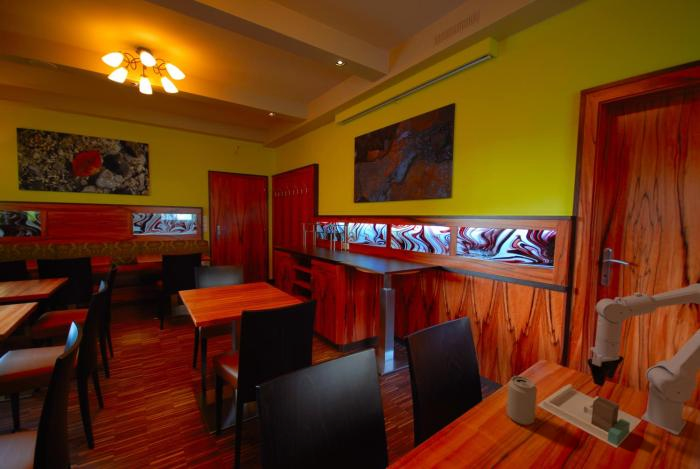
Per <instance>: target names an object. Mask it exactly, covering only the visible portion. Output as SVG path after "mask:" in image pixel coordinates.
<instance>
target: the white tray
mask: <svg viewBox="0 0 700 469" xmlns="http://www.w3.org/2000/svg"><path fill="white" fill-rule="evenodd" d="M598 397H599V396H598V395H596V396H595V397H591V396H590V395H587V394H585V393H583V392H580V391H578V390H576V389H574V388H573V385H572V384H570V383H568V384H567V385H563V387H561V388H560V389H558V390H556V391H555V392H554V393H552V394H551V395H549V396H548V397H545V399H543V400H541V401H540V402H538V403H537V404H536V406H537V407H540V408H541V409H543V410H545V411H547V412H548V413H550V414H552V415H554V416H556V417H558V418H560V419H561V420H563V421H565V422H567V423H569V424H571V425H572V426H574V427H576V428H579V429H581V430H582V431H583V432H586V433H588V434H589V435H592V436H593V437H595V438H596V439H599V440H601V441H603V442H605V443H606V444H608V445H610V446H611V447H614V448H616V449H617V448H618V447H620V445H621V444H622V443H623V442H624V440H625V439H626V438H627V437H628V436H629V435H630V434H631V433H632V432H633V430H635V428H637V426H638V425H639V423H641V422H642V419H640V418H637V417H636V416H634V415H631V414H629V413H627V412H625V411H623V410H620V409H619V410H618V419H617V423H616V424H615V425H614V426H613V427H612V428H611V429H610V430H609V432H606V431H604V430H602V429H600V428H598V427H596V426H595V425H593V424H591V421H592V411H593V401H594V400H596V399H597V398H598Z"/></svg>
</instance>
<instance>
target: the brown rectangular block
mask: <svg viewBox="0 0 700 469" xmlns="http://www.w3.org/2000/svg"><path fill="white" fill-rule="evenodd" d="M618 410H620V404H619V403H617V402H614V401H612V400H610V399H607V398H606V397H603V396H602V395H600V396H598V398H597V399H596V400H594V401H593V411H592V421H591V424H593V425H595V426H596V427H598V428H600V429H602V430H604V431H606V432H609V430H610V429H611V428H612V427H613V426H614V425H615V424H616V423H617V419H618Z"/></svg>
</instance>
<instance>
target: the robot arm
mask: <svg viewBox="0 0 700 469" xmlns="http://www.w3.org/2000/svg"><path fill="white" fill-rule="evenodd" d="M691 303H693V304H697V305H700V283H697V282H696V283H692V284H689V285H688V286H685V287H681V288H678V289H673V290H669V291H665V292H661V293H658V294H653V295H649V294H646V293H644V292H642V293H641V292H637V291H636V292H633V295H627V296H623V297H619V296H616V297H615V298H614V299H611V298H602V299H600V300H599V301H598V302H597V303H596V305H594V310H595V312H596V313H597V314H598V315H597V322H596V332H595V342H594V344H595V345H594V346H591V347H589V348H590V349H589V351H591V352H593V357H592V358H588V359H587V365H588V367H589V369H590V371H591V376H592V381H593V383H594V384H595V385H597V386H599V387H603V386H604V384H605V383H606V378H609V379H611V380H612V379H614V377H615V375H616V372H617V369H618V368H619V366H620V364H621V363H622V362H623V361H624V359H625V357H624V356H623V355H622V356H621V355H620V347H621V338H622V337H621V336H622V327H623V322H626V320H627V319H629V318H633V317H637V316H643V315H647V314H653V313H655V312H656V310H657V309H658V308H661V307H669V306H676V305H685V304H691ZM699 371H700V328H699V329H698V330H697V331H696V332H695V333H694V334H693V335H692V336H691V337H690V339H688V341H686V343H685V344H684V345H683V346H682V347H681V348H680V349H679V350H678V352H676V353H675V355H673V357H672V358H670V359H668V360H660V361H659V362H658V363H657V364H655V365H653V366H650V367H649V368H648V369H647V370H646V372H645V378H646V380H647V381H648V382H649V389H648V390H649V391H648V399H647V406H646V412H645V413H643V415H642V416H641V417H640V418H641V420H644V421H646V422H648V423H651V424H653V425H655V426H658V427H660V428H662V429H664V430H666V431H667V432H668V433H670V434H673V435H674V436H679V435H680V433H681V432H682V431H683V429H684V427H685V426H686V425H687V421H685V420H684V419H683V413H684V408H685V406H684V405H685V403H686V402H688V401H689V400H690V399H691V398H692V396H693V391H694V389H695V388H696V387H697V381H696V376H695V375H696V374H697V373H698V372H699Z"/></svg>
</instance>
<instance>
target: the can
mask: <svg viewBox="0 0 700 469" xmlns="http://www.w3.org/2000/svg"><path fill="white" fill-rule="evenodd" d="M535 384H536V383H535V382H534V381H533V380H532V379H530V378H528V377H525V376H522V375H514V376H512V377H511V379H510V380H509V381H508V387H507V388H508V389H507V399H506V404H507V405H506V414H507V416H509V419H511V420H512V421H513V422H515V423H517V424H519V425H524V426H528V425H531V424H534V422H535V419H536V406H537V404H536V403H537V393H538V390H537V386H536V385H535Z"/></svg>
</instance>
